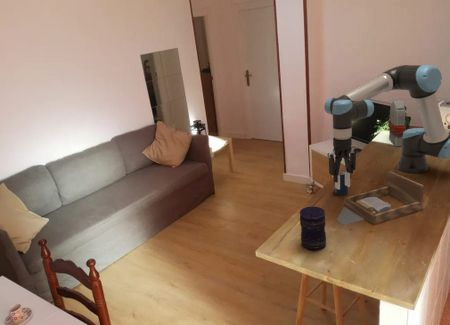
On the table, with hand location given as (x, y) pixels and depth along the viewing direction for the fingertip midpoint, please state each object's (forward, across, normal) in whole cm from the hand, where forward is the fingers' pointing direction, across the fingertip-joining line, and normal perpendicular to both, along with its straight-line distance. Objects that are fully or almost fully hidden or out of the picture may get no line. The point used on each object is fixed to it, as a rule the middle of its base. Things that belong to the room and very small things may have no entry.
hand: (342, 186), depth 153 cm
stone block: (+13, -21, +3) cm, 25 cm away
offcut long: (+15, -9, +4) cm, 18 cm away
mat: (+14, 0, 0) cm, 14 cm away
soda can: (+14, -12, -19) cm, 27 cm away
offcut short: (+12, -9, +4) cm, 15 cm away
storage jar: (+15, +24, +14) cm, 31 cm away
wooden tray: (+14, -19, +3) cm, 24 cm away
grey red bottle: (+13, -89, -65) cm, 111 cm away
